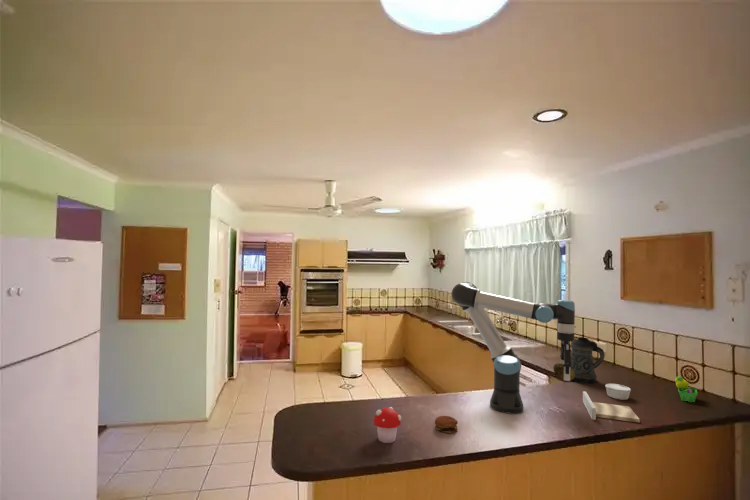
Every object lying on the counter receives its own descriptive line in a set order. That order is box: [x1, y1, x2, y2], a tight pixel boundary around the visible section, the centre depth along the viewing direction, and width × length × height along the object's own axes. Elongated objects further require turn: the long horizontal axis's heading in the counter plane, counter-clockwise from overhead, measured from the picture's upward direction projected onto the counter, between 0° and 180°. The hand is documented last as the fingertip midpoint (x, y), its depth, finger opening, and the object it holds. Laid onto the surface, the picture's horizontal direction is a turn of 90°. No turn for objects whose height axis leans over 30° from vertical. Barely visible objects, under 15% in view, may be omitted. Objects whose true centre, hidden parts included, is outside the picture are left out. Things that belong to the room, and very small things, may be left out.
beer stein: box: [570, 336, 605, 384], centre depth 232 cm, size 16×19×25 cm
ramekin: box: [604, 383, 632, 401], centre depth 202 cm, size 11×11×5 cm
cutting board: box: [592, 401, 641, 423], centre depth 179 cm, size 17×16×2 cm
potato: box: [553, 362, 575, 381], centre depth 187 cm, size 8×13×8 cm, turn 105°
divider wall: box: [582, 391, 597, 421], centre depth 183 cm, size 2×24×5 cm, turn 160°
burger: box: [434, 415, 459, 434], centre depth 159 cm, size 10×9×5 cm
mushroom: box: [373, 406, 402, 444], centre depth 149 cm, size 11×11×12 cm
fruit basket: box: [674, 376, 698, 403], centre depth 200 cm, size 11×9×11 cm
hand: (565, 376), depth 187 cm, fingers closed on potato, 12 cm apart
